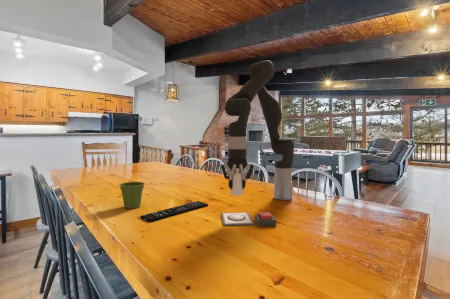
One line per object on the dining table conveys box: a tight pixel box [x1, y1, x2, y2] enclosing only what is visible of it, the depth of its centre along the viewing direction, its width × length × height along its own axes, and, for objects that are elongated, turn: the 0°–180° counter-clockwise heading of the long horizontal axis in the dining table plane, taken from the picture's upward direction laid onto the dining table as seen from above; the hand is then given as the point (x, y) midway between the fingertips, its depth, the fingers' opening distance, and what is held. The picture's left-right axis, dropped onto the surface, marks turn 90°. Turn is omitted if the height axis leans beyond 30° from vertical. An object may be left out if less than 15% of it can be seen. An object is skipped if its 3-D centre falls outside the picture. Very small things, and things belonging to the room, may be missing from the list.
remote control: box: [140, 200, 209, 224], centre depth 115 cm, size 8×32×2 cm, turn 137°
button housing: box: [254, 213, 277, 228], centre depth 102 cm, size 7×7×2 cm
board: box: [220, 211, 255, 227], centre depth 106 cm, size 12×14×1 cm
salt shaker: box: [230, 168, 244, 197], centre depth 105 cm, size 5×5×11 cm
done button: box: [258, 211, 273, 219], centre depth 101 cm, size 4×4×2 cm
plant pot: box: [118, 181, 146, 209], centre depth 122 cm, size 12×12×11 cm
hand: (236, 188), depth 105 cm, fingers closed on salt shaker, 4 cm apart
